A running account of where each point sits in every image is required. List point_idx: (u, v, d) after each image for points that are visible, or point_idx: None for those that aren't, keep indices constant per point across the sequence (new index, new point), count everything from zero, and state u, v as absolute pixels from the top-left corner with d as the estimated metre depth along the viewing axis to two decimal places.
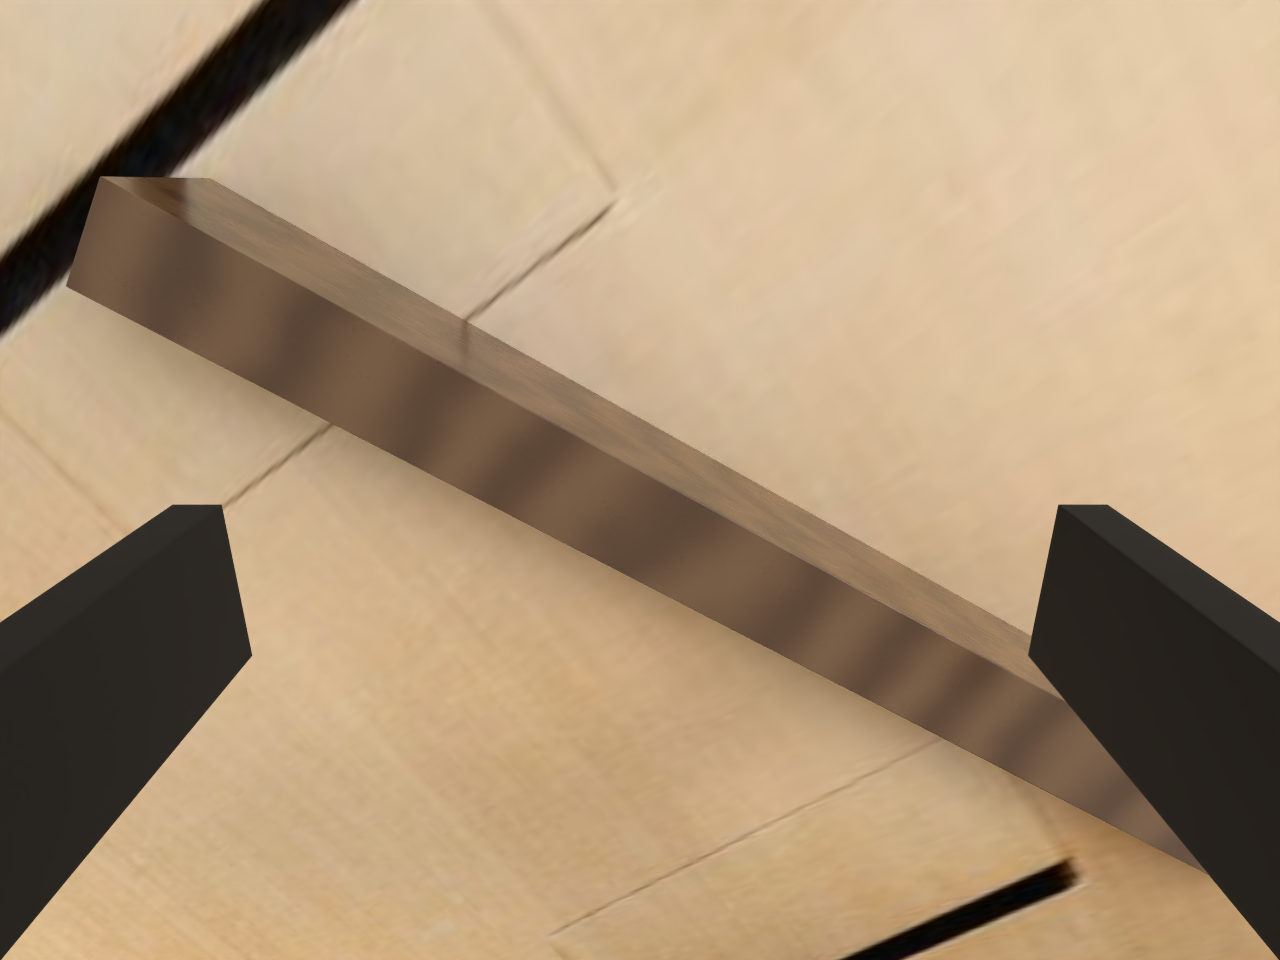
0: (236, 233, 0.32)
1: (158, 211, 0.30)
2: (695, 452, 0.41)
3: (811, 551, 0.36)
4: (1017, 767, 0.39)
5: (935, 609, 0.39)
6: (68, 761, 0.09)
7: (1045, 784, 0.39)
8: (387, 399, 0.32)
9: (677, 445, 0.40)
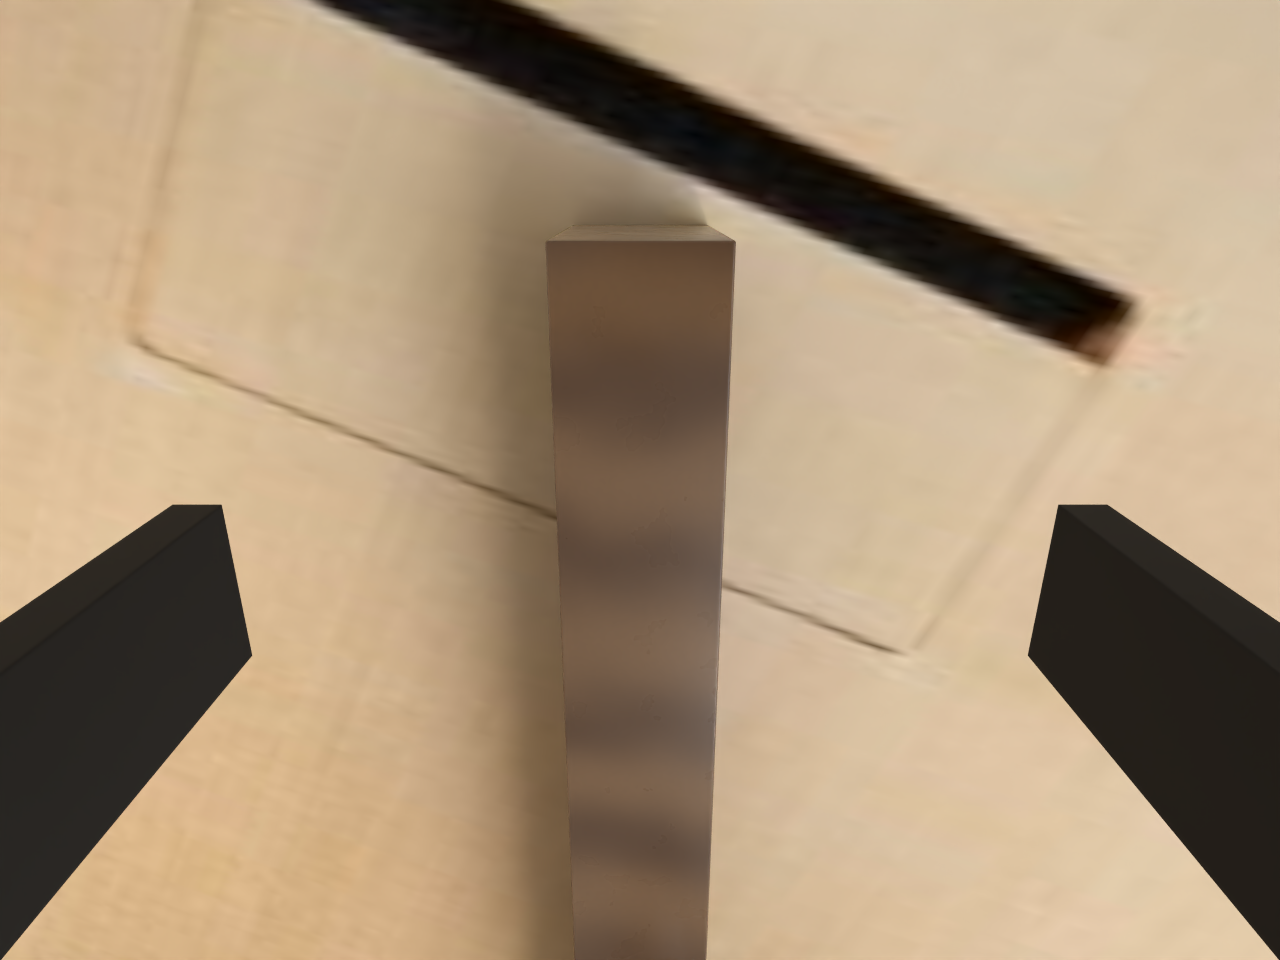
0: None
1: (726, 333, 0.20)
2: None
3: None
4: None
5: None
6: (68, 761, 0.09)
7: None
8: (634, 682, 0.24)
9: None
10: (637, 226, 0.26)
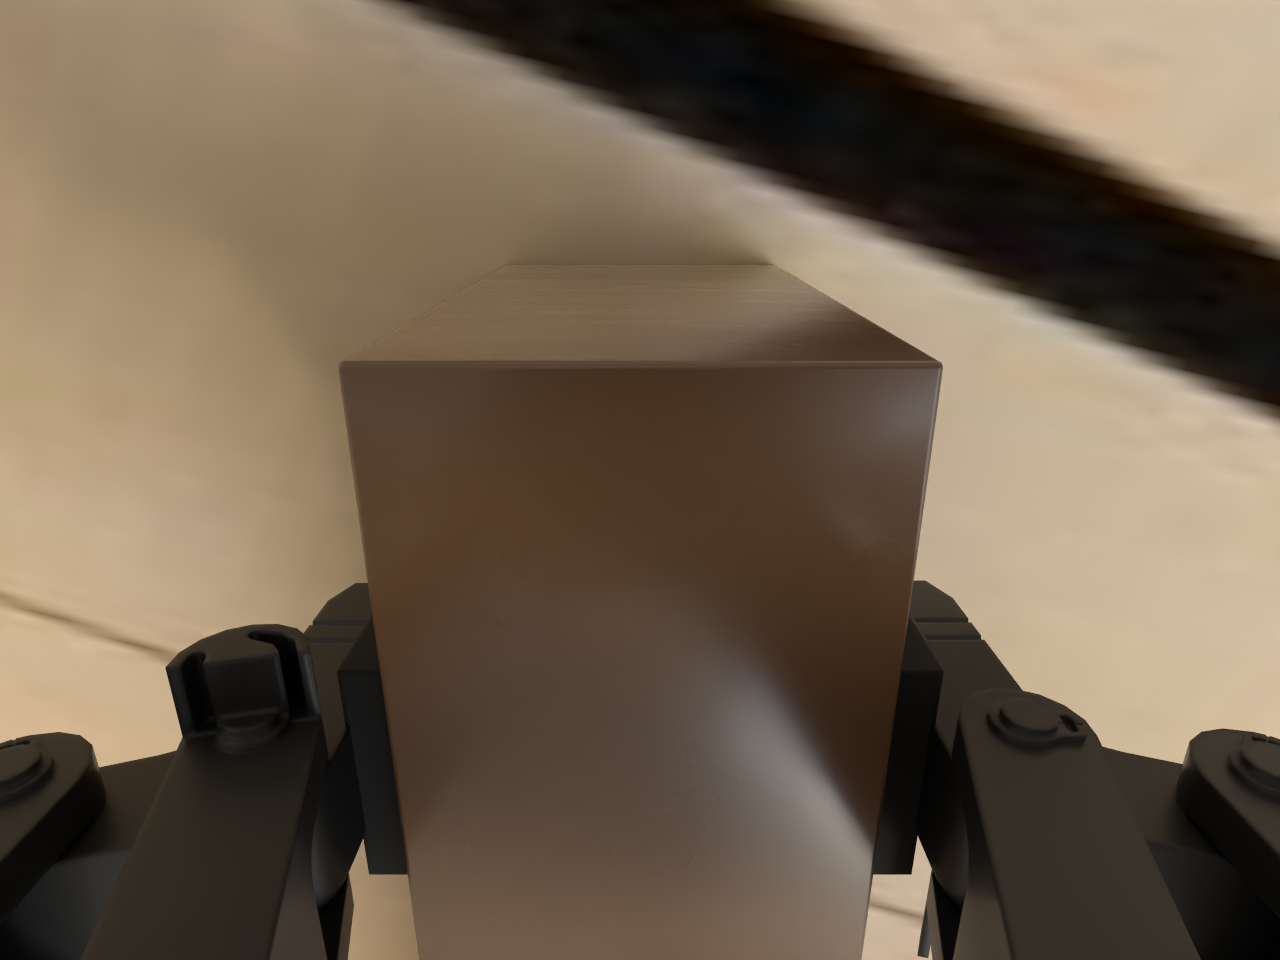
0: None
1: (893, 622, 0.07)
2: None
3: None
4: None
5: None
6: None
7: None
8: None
9: None
10: (633, 269, 0.13)
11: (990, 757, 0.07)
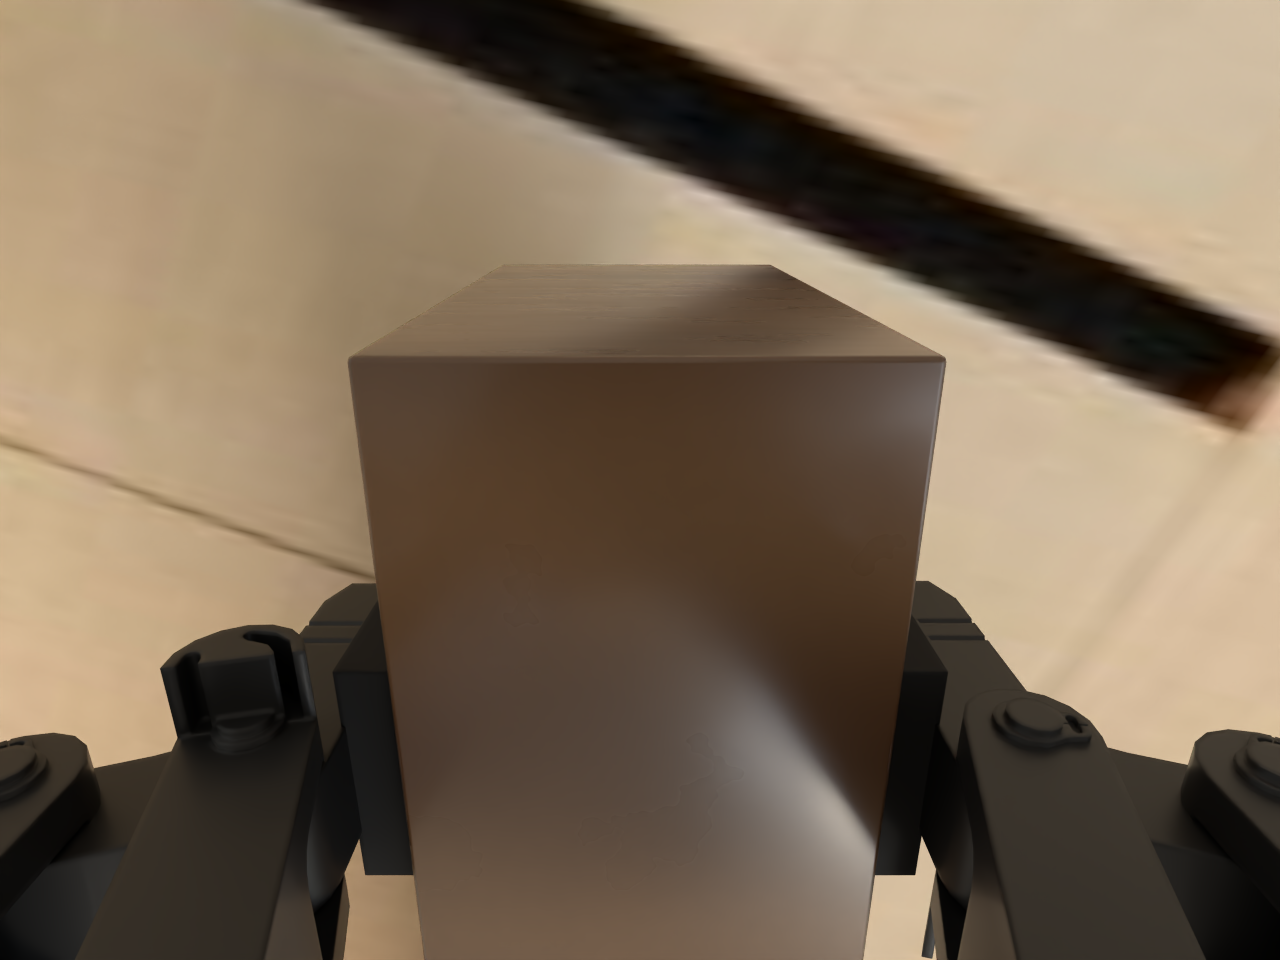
0: None
1: (896, 614, 0.07)
2: None
3: None
4: None
5: None
6: None
7: None
8: None
9: None
10: (631, 268, 0.13)
11: (994, 757, 0.07)
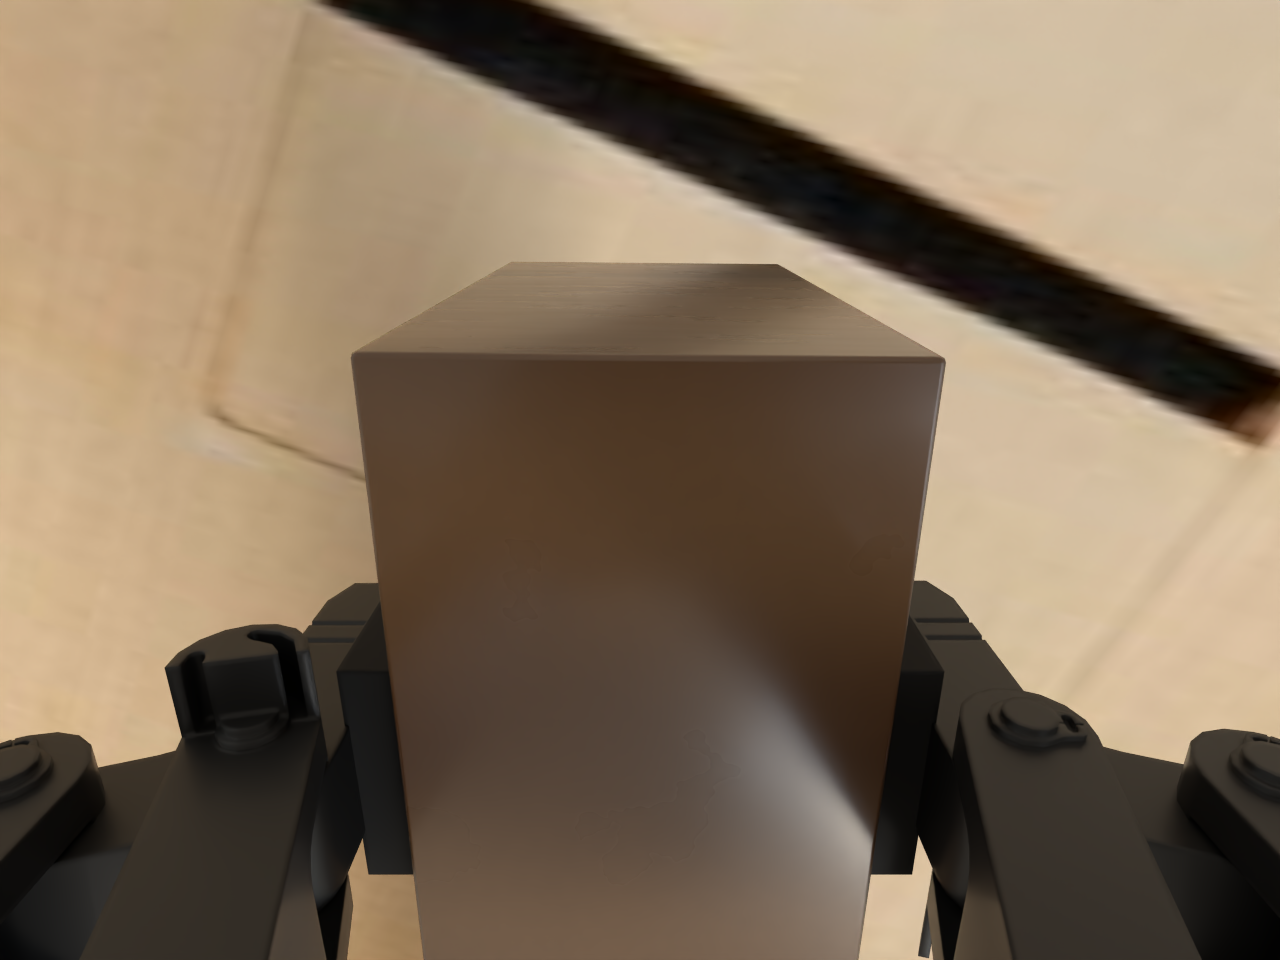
0: None
1: (894, 615, 0.07)
2: None
3: None
4: None
5: None
6: None
7: None
8: None
9: None
10: (638, 267, 0.13)
11: (990, 757, 0.07)
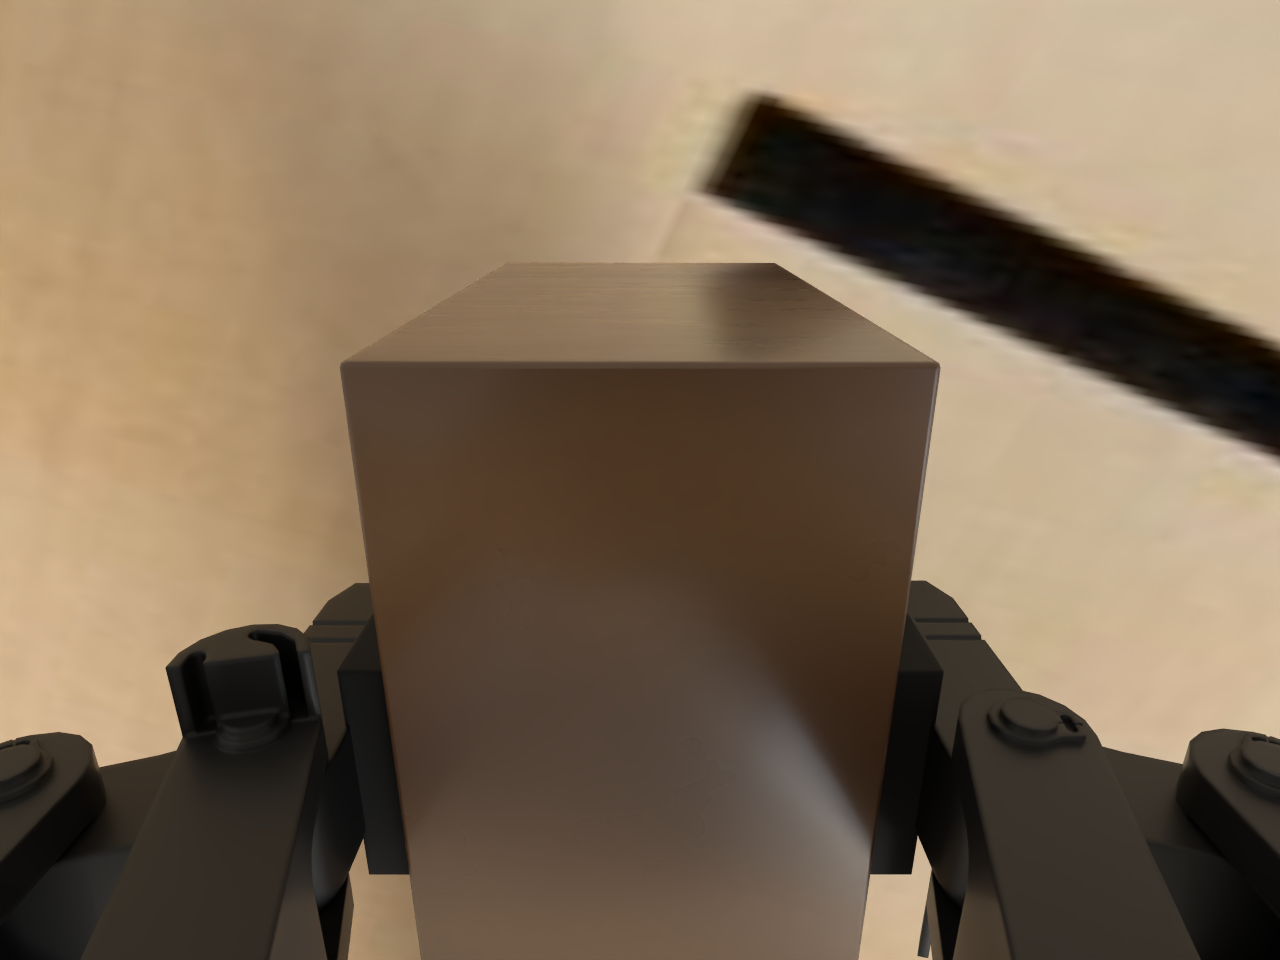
0: None
1: (890, 620, 0.07)
2: None
3: None
4: None
5: None
6: None
7: None
8: None
9: None
10: (634, 267, 0.13)
11: (990, 757, 0.07)
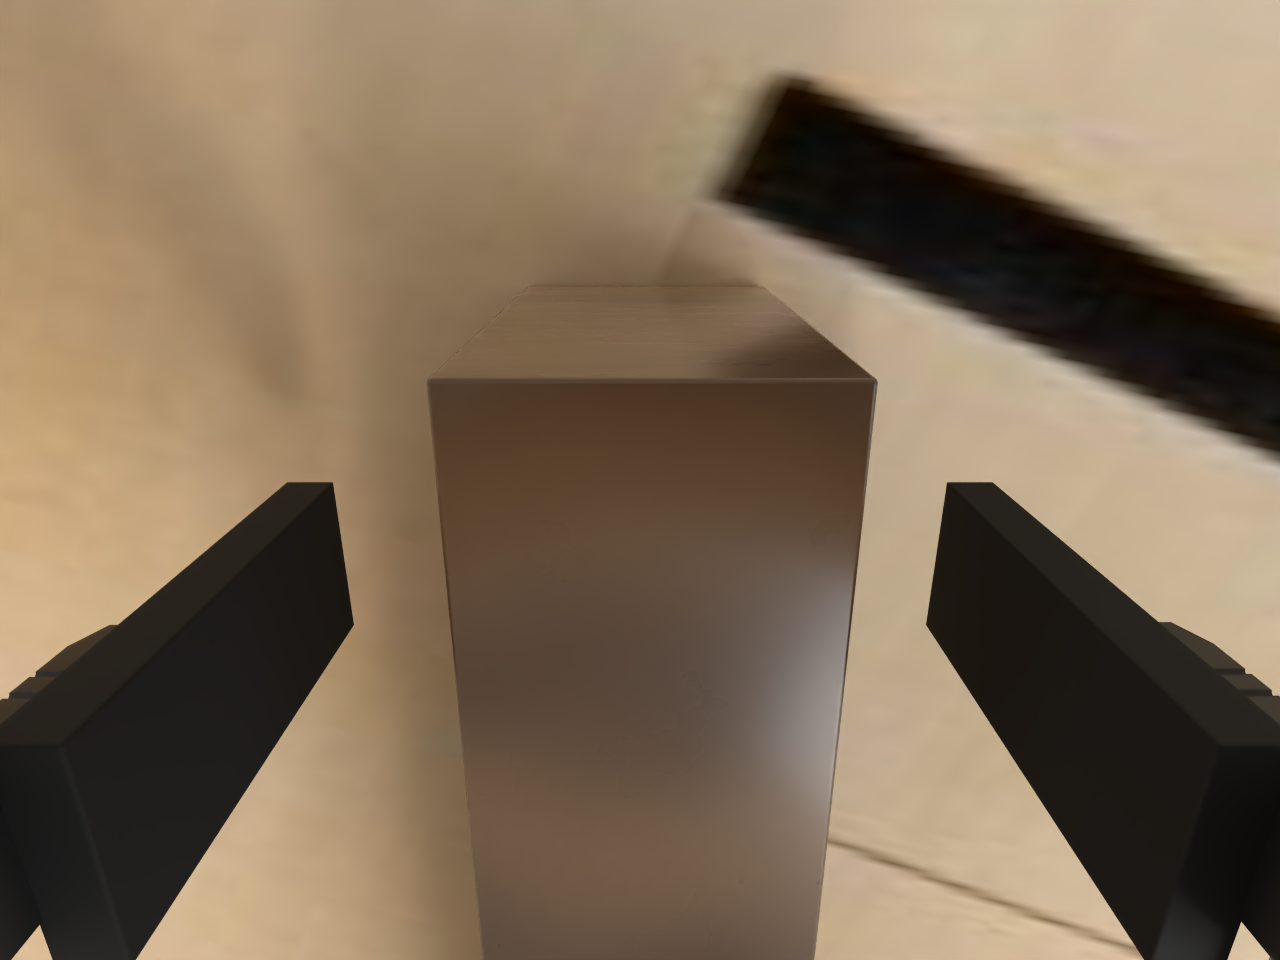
0: None
1: (844, 577, 0.09)
2: None
3: None
4: None
5: None
6: (229, 707, 0.10)
7: None
8: None
9: None
10: (640, 291, 0.15)
11: None
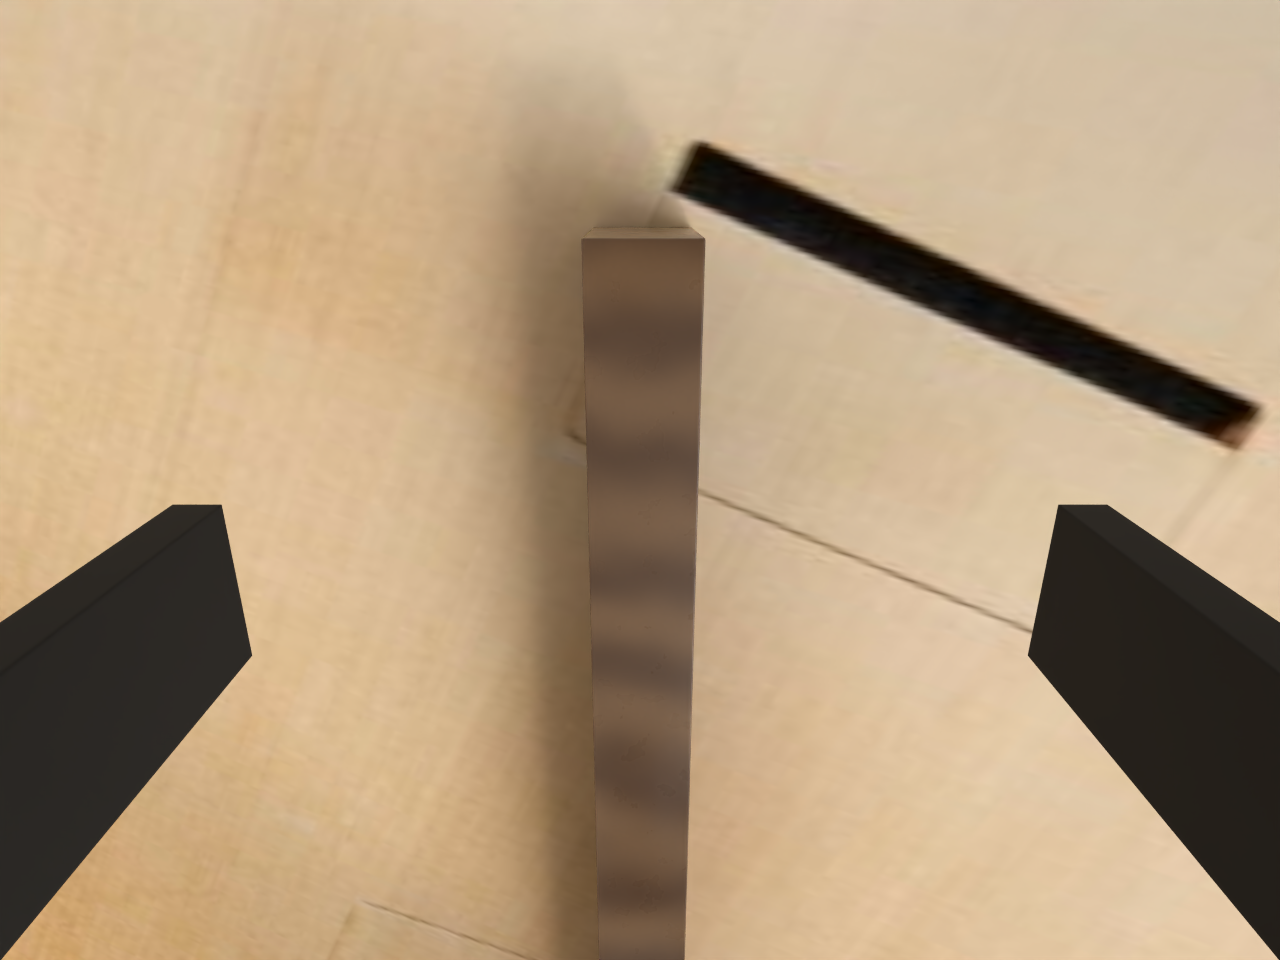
0: None
1: (699, 300, 0.30)
2: None
3: None
4: None
5: None
6: (68, 761, 0.09)
7: None
8: (638, 546, 0.34)
9: None
10: (640, 228, 0.36)
11: None
